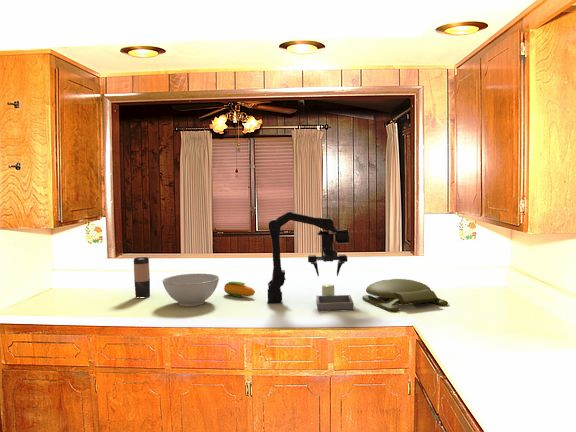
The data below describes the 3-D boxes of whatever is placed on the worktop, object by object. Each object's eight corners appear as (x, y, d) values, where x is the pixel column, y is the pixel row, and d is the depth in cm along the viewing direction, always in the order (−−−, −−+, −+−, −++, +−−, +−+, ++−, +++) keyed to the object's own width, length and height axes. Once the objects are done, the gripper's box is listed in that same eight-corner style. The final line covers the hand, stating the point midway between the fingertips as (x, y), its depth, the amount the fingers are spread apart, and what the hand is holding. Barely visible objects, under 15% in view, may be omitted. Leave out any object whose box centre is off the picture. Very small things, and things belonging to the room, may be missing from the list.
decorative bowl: (209, 294, 297) (208, 271, 296) (227, 305, 273) (226, 280, 272) (157, 301, 285) (156, 277, 284) (172, 312, 261) (170, 286, 260)
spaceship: (450, 306, 263) (450, 285, 262) (391, 313, 252) (390, 291, 251) (409, 291, 295) (408, 272, 294) (354, 297, 285) (354, 277, 284)
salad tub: (322, 301, 276) (322, 287, 276) (321, 298, 282) (321, 284, 282) (335, 301, 276) (334, 286, 276) (334, 298, 282) (333, 284, 281)
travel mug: (153, 296, 297) (152, 257, 295) (142, 299, 290) (141, 259, 289) (142, 294, 301) (141, 256, 299) (131, 297, 294) (130, 258, 292)
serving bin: (317, 311, 257) (317, 303, 257) (316, 303, 273) (316, 295, 273) (353, 310, 257) (353, 302, 257) (350, 302, 273) (350, 295, 273)
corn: (229, 278, 300) (259, 282, 288) (231, 292, 301) (260, 296, 289) (220, 281, 294) (250, 285, 282) (221, 296, 295) (251, 300, 283)
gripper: (308, 246, 269) (308, 279, 270) (348, 246, 269) (348, 279, 270) (307, 243, 280) (308, 275, 281) (346, 242, 280) (346, 274, 281)
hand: (327, 276), depth 278 cm, fingers open, 9 cm apart
